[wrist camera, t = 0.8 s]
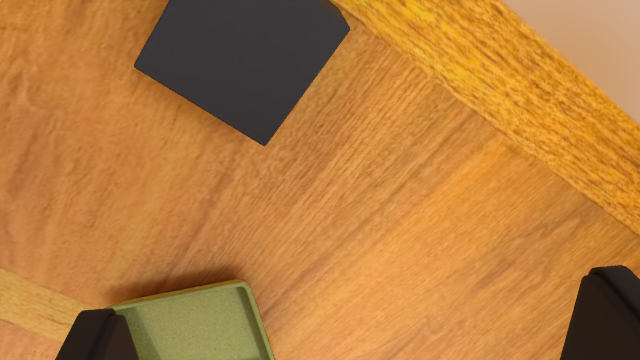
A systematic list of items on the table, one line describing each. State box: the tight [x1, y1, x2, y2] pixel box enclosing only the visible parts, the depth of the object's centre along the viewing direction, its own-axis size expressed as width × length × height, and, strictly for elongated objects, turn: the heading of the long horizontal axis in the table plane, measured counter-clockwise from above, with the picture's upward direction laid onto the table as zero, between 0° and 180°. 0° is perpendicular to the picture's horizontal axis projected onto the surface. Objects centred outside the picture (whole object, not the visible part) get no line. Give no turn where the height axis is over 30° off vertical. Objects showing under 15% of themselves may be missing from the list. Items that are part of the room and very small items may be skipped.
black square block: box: [134, 0, 350, 146], centre depth 20 cm, size 6×6×4 cm
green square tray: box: [104, 279, 275, 360], centre depth 30 cm, size 9×9×2 cm
